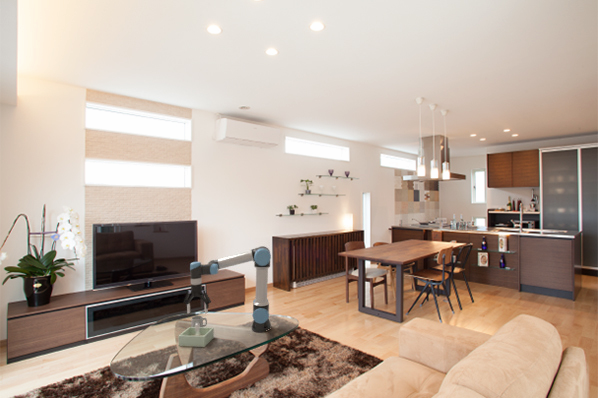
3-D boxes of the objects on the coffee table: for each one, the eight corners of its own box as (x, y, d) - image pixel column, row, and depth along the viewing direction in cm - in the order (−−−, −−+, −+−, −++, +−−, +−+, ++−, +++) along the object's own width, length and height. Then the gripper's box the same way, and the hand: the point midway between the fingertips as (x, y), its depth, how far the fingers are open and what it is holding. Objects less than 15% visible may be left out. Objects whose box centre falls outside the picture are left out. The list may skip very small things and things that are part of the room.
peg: (198, 341, 239) (198, 324, 239) (194, 341, 239) (194, 324, 239) (200, 339, 242) (200, 322, 242) (196, 339, 242) (196, 322, 242)
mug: (193, 335, 250) (193, 320, 250) (190, 331, 257) (189, 317, 257) (209, 330, 258) (208, 316, 258) (205, 327, 264) (204, 313, 264)
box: (213, 337, 245) (213, 327, 245) (204, 346, 229) (204, 336, 229) (189, 336, 248) (189, 326, 248) (178, 345, 232) (178, 335, 232)
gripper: (214, 282, 242) (216, 311, 242) (182, 282, 246) (184, 311, 246) (210, 285, 235) (211, 314, 235) (177, 285, 239) (178, 314, 239)
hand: (197, 313), depth 240 cm, fingers open, 13 cm apart
